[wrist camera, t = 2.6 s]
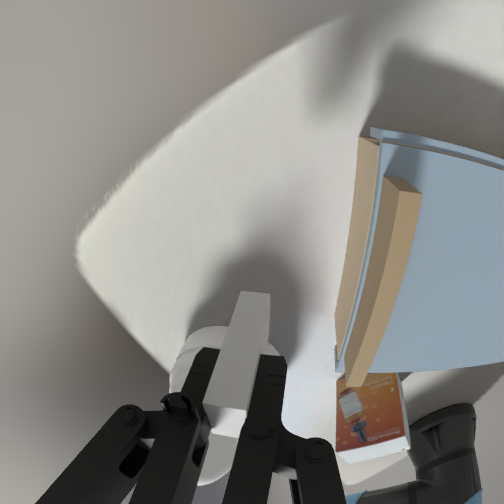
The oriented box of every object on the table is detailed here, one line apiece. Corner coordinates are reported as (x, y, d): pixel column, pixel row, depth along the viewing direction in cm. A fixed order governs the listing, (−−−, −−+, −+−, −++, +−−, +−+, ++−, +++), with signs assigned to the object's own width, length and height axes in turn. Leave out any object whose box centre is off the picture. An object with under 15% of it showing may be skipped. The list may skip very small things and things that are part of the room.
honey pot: (165, 345, 34) (105, 461, 19) (236, 309, 29) (177, 474, 13) (229, 398, 38) (197, 505, 22) (303, 374, 32) (288, 512, 17)
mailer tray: (496, 316, 23) (515, 349, 18) (334, 314, 27) (337, 359, 22) (542, 182, 15) (577, 203, 10) (358, 136, 19) (378, 146, 14)
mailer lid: (504, 343, 21) (523, 381, 15) (334, 349, 24) (335, 403, 19) (565, 185, 12) (604, 210, 6) (370, 126, 15) (401, 134, 10)
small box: (394, 360, 29) (407, 435, 20) (401, 382, 31) (412, 449, 22) (334, 380, 32) (334, 453, 23) (347, 399, 34) (348, 465, 25)
